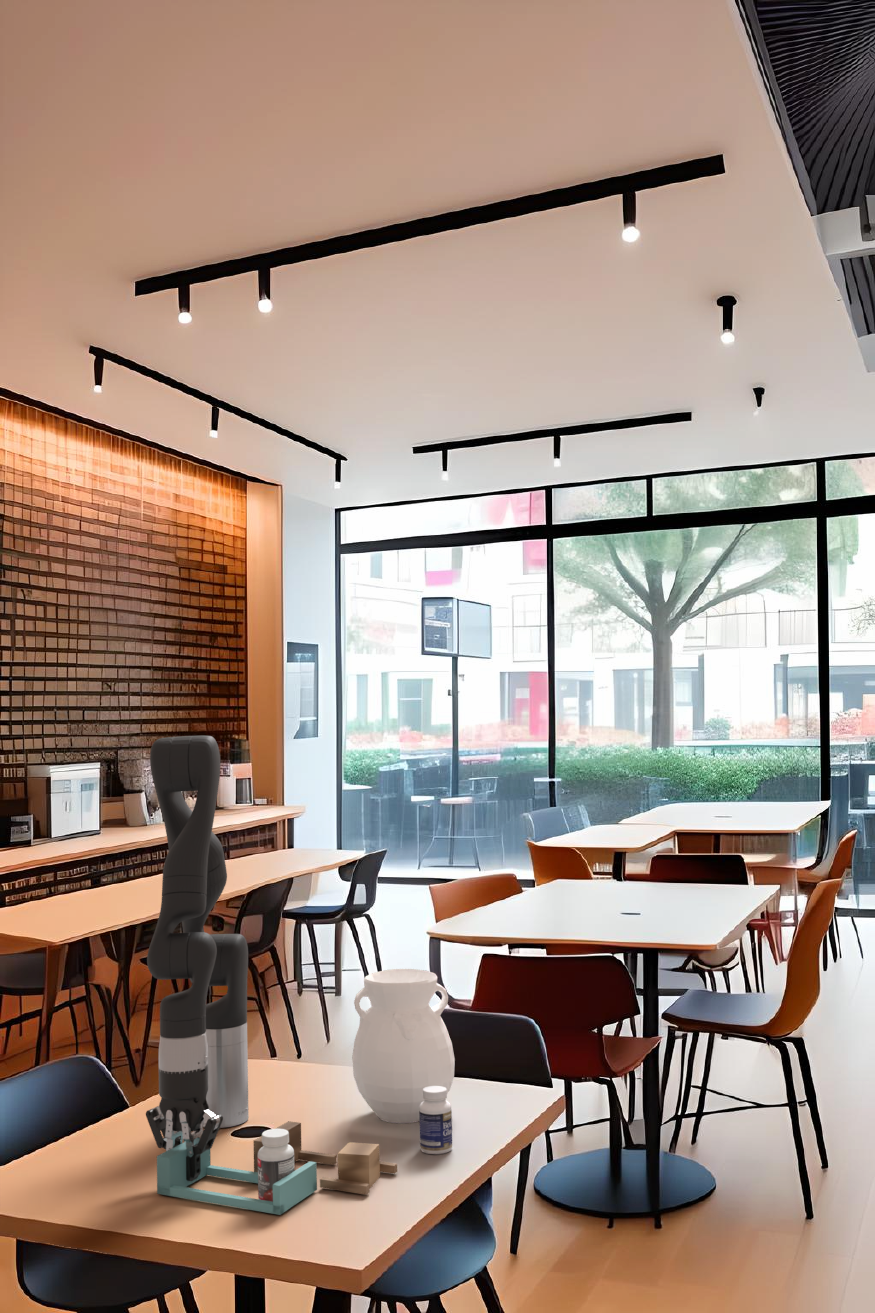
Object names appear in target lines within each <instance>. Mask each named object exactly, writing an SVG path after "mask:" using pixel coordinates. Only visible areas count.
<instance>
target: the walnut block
mask: <svg viewBox="0 0 875 1313" xmlns="http://www.w3.org/2000/svg"><path fill="white" fill-rule="evenodd" d="M380 1157H381V1156H380V1143H365V1142H348V1143H346V1144H345V1146H343V1147H342V1148H341V1149H340V1150H339V1151H338V1153H337V1173H338V1174H337V1175H338V1177H337V1179H340V1180H347V1181H353V1182H360V1183H366V1184H369V1188H370V1189H371V1188H372V1187H373V1186H374V1185H375V1183H376V1182H377V1181H378V1180H379V1179H380V1178H381V1172H380V1161H381V1159H380Z"/></svg>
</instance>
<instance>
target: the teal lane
mask: <svg viewBox="0 0 875 1313" xmlns="http://www.w3.org/2000/svg"><path fill="white" fill-rule="evenodd" d="M187 1156H188V1155H187V1151H186V1142H185V1141H183V1142H182V1144H180V1145H178V1146H176V1147H174V1148H172V1149H170V1150H168V1151H166V1150H165V1151H163V1152H162V1153H160V1154H158V1155H156V1178H157V1179H156V1193H157V1195H163V1196H167V1197H174V1198H180V1199H186V1200H193V1201H198V1202H203V1203H209V1204H210V1203H211V1204H214V1205H220V1206H228V1207H233V1208H238V1209H243V1210H250V1211H255V1212H262V1213H267V1214H272V1215H278V1216H279V1215H282V1214H284V1213H285V1212H287V1211H288V1210H289V1209H291V1208H292V1207H294V1206H295V1205H297V1204H298V1203H300V1202H301V1201H303V1200H304V1199H305V1198H307V1197H309V1196H310V1195H312V1194H313V1193H315V1192H316V1191H317V1190H318V1176H317V1175H318V1172H317V1168H318V1167H317V1166H318V1165H317V1162H311V1161H307V1163H305V1164H303V1165H301V1166H300V1167H299V1168H296V1169H294V1172H292V1173H290V1174H289V1175H287V1176H286V1177H284V1178H282V1179H281V1180H279V1181H278V1182H276V1183H274V1184H273V1202H271V1201H266V1200H260V1199H258V1198H253V1197H246V1196H242V1195H235V1194H229V1193H222V1192H216V1191H210V1190H205V1189H199V1188H193V1187H189V1186H190V1185H192V1184H194V1183H195V1182H197V1181H199V1180H201V1179H202V1178H204V1177H206V1176H210V1177H217V1178H221V1179H222V1178H223V1179H229V1180H233V1181H234V1180H235V1181H241V1182H247V1183H254V1184H258V1172H254V1171H250V1170H243V1169H237V1168H232V1167H231V1168H230V1167H225V1166H218V1165H213V1164H211V1163H212V1162H211V1149H209V1150H207V1151H205V1152H203V1153H202V1154H201V1167H200V1168H201V1172H200V1175H199V1176H198V1178H197V1179H195V1180H193V1181H187V1180H186V1157H187Z"/></svg>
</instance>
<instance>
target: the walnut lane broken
mask: <svg viewBox="0 0 875 1313" xmlns="http://www.w3.org/2000/svg"><path fill="white" fill-rule="evenodd" d="M274 1129H285V1130H287V1131H288V1132H289V1143H288V1145H290V1146H292V1148H293V1149H294V1163H296V1162H297V1161H304V1162H309V1161H311V1162H316V1164H317V1163H318V1164H325V1165H330V1166H331V1165H332V1166H334V1165H336V1164H338V1154H332V1153H325V1152H324V1153H323V1152H317V1151H313V1150H312V1151H310V1150H304V1149H302V1122H299V1121H298V1122H297V1121H287V1122H284V1123H283V1124H280V1125H279V1126H277V1127H275V1128H274ZM252 1144H253V1172H258V1151H259V1149H260V1148H261V1147H263V1146H264V1145H263V1144H262V1135H261V1136H259V1137H257V1138H256V1139H254V1140H253V1143H252ZM380 1173H385V1174H386V1173H387V1174H396V1173H398V1163H395V1162H388V1161H382V1160H380ZM319 1188H322V1189H328V1190H334V1191H339V1192H340V1191H341V1192H347V1193H353V1194H359V1195H368V1194H369V1193H370V1189H371V1188H369V1184H366V1183H360V1182H353V1181H347V1180H340V1179H338V1178H333V1177H326V1176H322V1177H321V1178H320V1179H319Z"/></svg>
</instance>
